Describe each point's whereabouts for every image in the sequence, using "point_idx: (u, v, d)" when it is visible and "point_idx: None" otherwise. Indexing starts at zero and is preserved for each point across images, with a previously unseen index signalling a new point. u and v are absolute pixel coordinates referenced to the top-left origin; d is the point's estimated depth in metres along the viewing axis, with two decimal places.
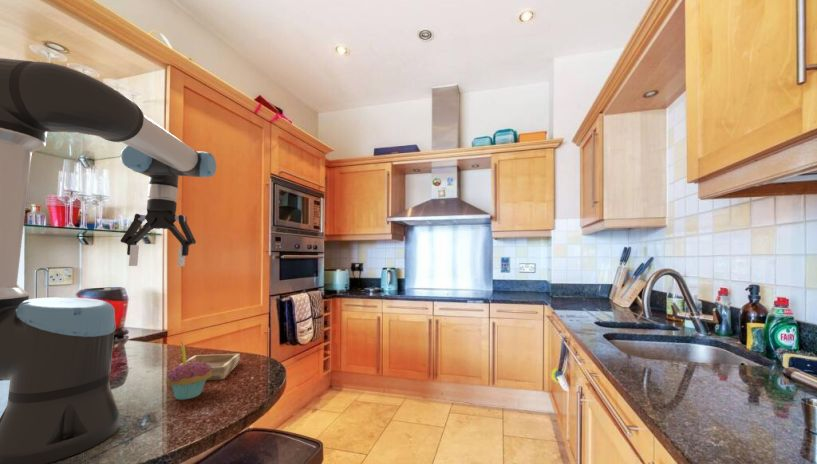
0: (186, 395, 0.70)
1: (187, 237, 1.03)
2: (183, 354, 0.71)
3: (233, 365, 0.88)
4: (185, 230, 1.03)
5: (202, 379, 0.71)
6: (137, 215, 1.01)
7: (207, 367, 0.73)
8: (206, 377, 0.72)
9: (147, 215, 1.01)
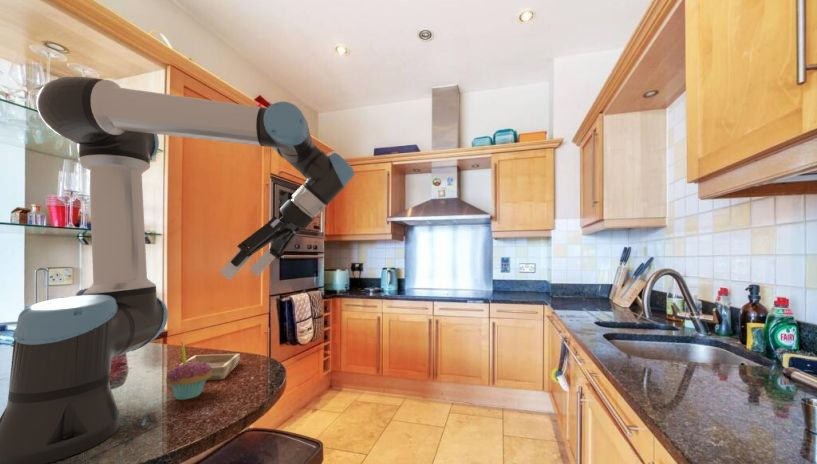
0: (186, 395, 0.70)
1: None
2: (183, 354, 0.71)
3: (233, 365, 0.88)
4: None
5: (202, 379, 0.71)
6: None
7: (207, 367, 0.73)
8: (206, 377, 0.72)
9: None
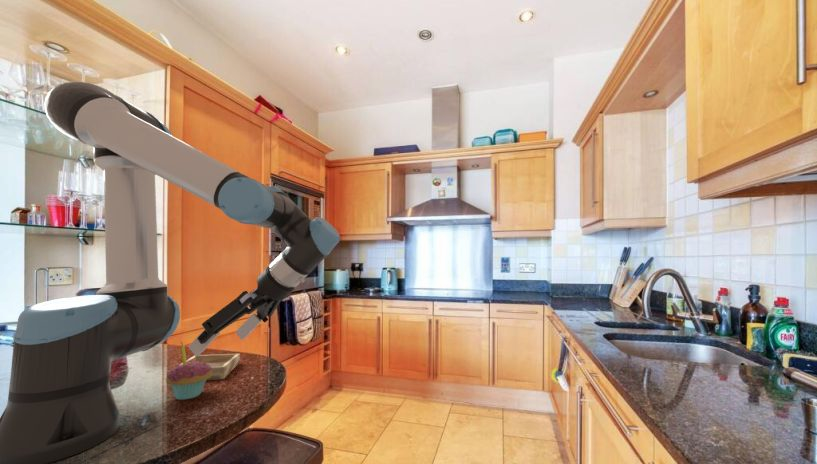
0: (186, 395, 0.70)
1: None
2: (183, 354, 0.71)
3: (233, 365, 0.88)
4: None
5: (202, 379, 0.71)
6: None
7: (207, 367, 0.73)
8: (206, 377, 0.72)
9: None
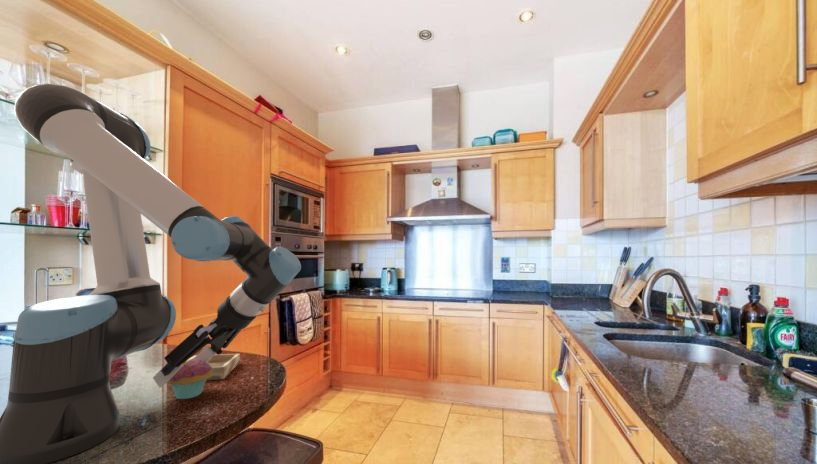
0: (186, 395, 0.70)
1: None
2: None
3: (233, 365, 0.88)
4: None
5: (202, 379, 0.71)
6: None
7: (207, 367, 0.73)
8: (206, 377, 0.72)
9: None
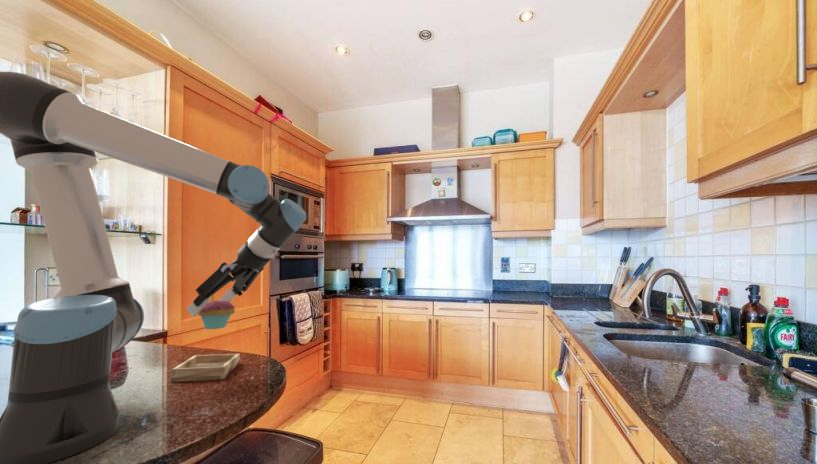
0: (213, 325, 0.83)
1: None
2: None
3: (233, 365, 0.88)
4: None
5: (226, 313, 0.84)
6: None
7: (231, 305, 0.86)
8: (230, 312, 0.85)
9: None
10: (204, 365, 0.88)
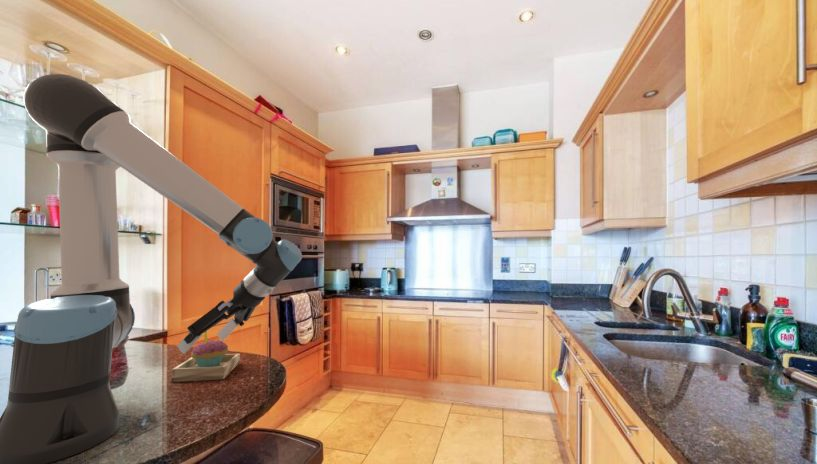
0: None
1: None
2: (205, 333, 0.86)
3: (233, 365, 0.88)
4: None
5: (220, 354, 0.85)
6: None
7: (224, 345, 0.88)
8: (224, 353, 0.86)
9: None
10: None
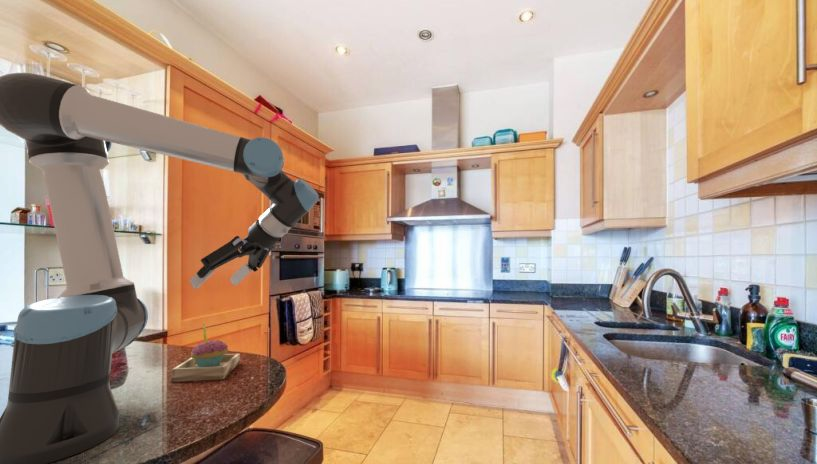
0: None
1: None
2: (204, 334, 0.86)
3: (233, 365, 0.88)
4: None
5: (220, 354, 0.85)
6: None
7: (224, 345, 0.88)
8: (223, 353, 0.86)
9: None
10: None
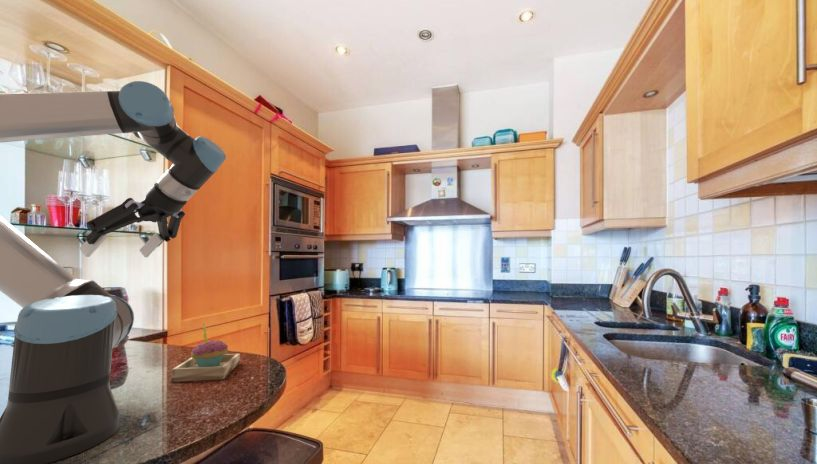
0: None
1: None
2: (205, 333, 0.86)
3: (233, 365, 0.88)
4: None
5: (220, 354, 0.85)
6: None
7: (224, 345, 0.88)
8: (224, 353, 0.86)
9: None
10: None
